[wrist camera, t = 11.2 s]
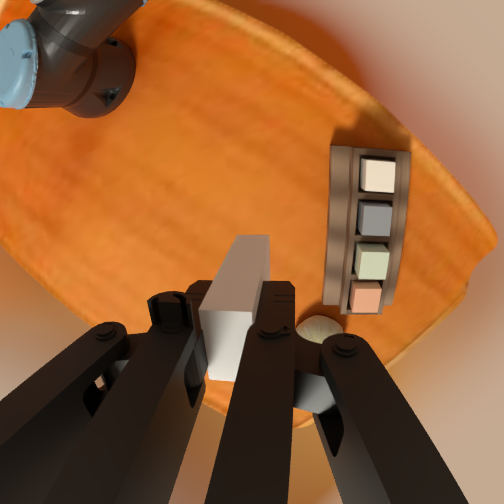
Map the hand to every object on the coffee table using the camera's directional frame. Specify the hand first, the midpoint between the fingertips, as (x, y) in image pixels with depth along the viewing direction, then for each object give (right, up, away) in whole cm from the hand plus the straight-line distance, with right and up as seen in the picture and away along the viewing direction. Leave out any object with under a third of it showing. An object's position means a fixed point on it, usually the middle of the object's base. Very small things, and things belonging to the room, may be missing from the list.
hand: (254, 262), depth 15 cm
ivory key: (+17, +11, +25) cm, 32 cm away
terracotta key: (+17, -5, +32) cm, 36 cm away
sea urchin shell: (+12, -14, +40) cm, 44 cm away
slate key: (+17, +6, +27) cm, 33 cm away
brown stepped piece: (+17, +4, +32) cm, 37 cm away
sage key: (+17, 0, +28) cm, 33 cm away
